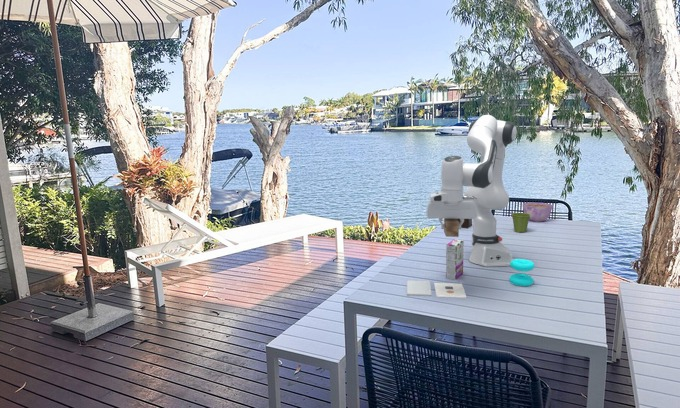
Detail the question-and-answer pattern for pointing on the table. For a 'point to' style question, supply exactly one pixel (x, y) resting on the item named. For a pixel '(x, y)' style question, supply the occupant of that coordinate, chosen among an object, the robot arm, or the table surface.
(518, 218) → the plant pot
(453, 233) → the walnut block
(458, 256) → the candy bar box
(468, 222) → the manual coffee grinder
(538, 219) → the bowl of food
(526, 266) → the donuts
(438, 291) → the plate
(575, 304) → the table surface
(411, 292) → the grey mat
